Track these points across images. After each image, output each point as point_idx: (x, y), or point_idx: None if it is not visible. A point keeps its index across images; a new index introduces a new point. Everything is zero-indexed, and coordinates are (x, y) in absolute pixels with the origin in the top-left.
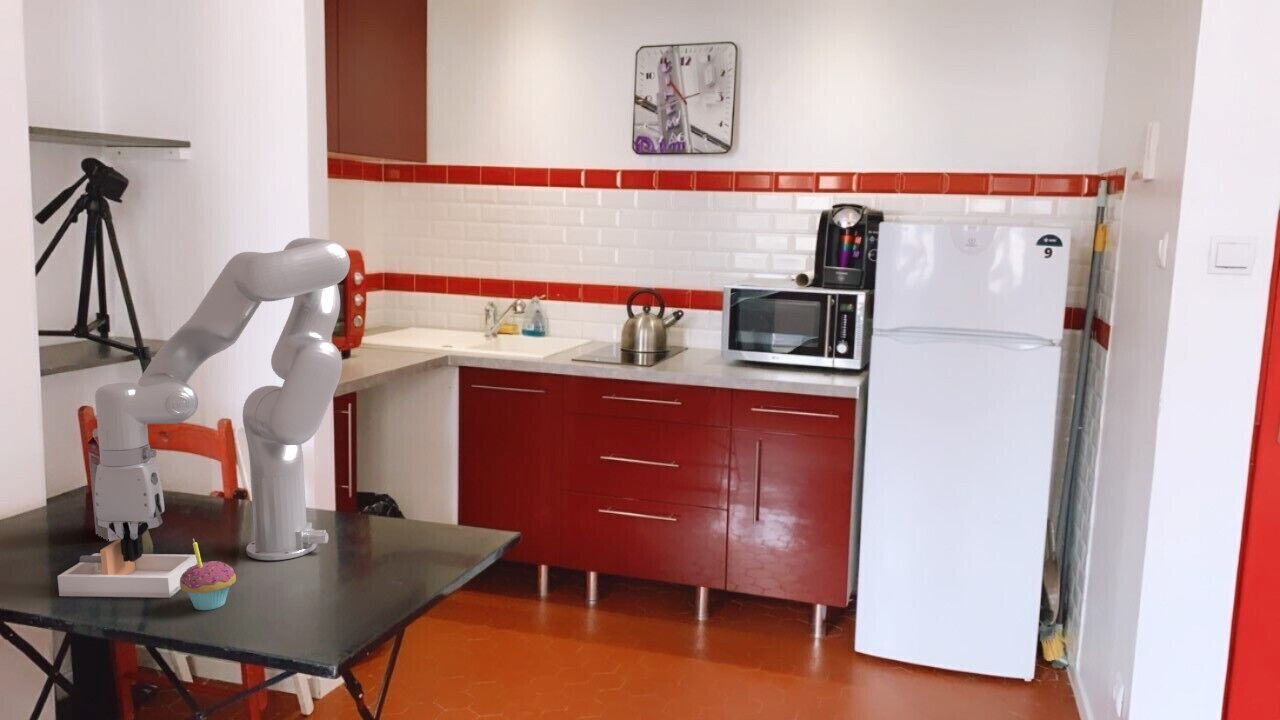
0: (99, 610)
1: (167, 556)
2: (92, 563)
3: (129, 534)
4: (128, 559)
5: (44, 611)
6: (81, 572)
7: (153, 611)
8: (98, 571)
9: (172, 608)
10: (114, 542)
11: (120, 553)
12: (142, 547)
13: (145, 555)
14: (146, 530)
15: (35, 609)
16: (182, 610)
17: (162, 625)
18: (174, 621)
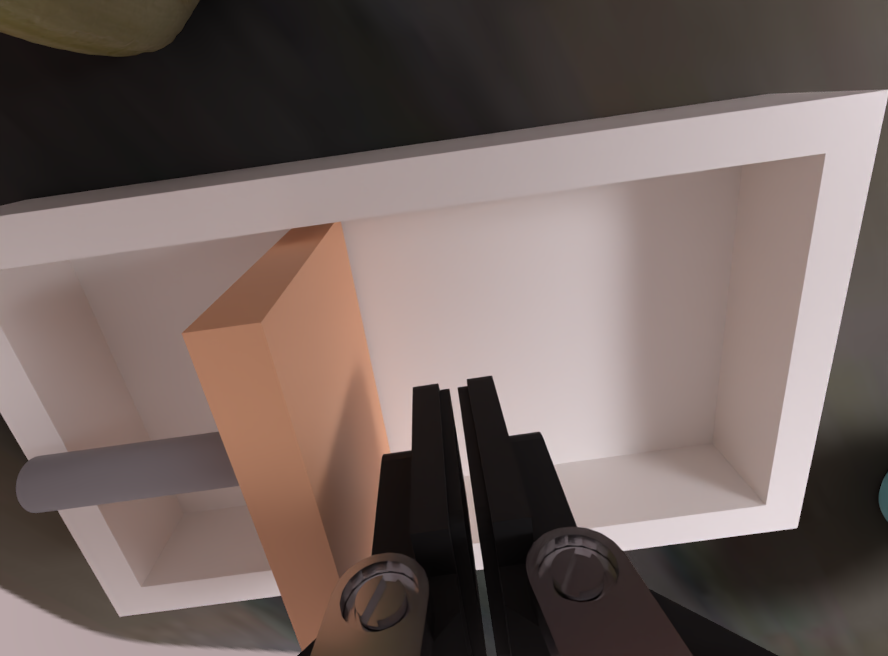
0: (481, 594)
1: (611, 182)
2: (40, 324)
3: (467, 644)
4: (466, 498)
5: (264, 635)
6: (108, 437)
7: (714, 564)
8: (94, 268)
9: (784, 531)
10: (294, 584)
11: (351, 476)
12: (549, 462)
13: (402, 198)
14: (691, 619)
15: (209, 629)
16: (835, 538)
17: (801, 640)
18: (835, 611)
